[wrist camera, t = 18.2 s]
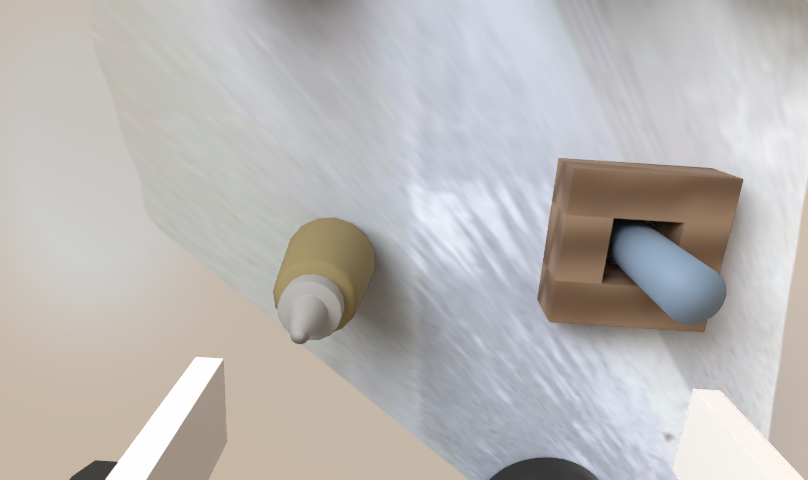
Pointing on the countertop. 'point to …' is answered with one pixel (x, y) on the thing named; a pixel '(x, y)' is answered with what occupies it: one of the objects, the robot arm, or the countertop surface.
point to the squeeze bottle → (323, 278)
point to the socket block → (591, 228)
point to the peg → (666, 272)
